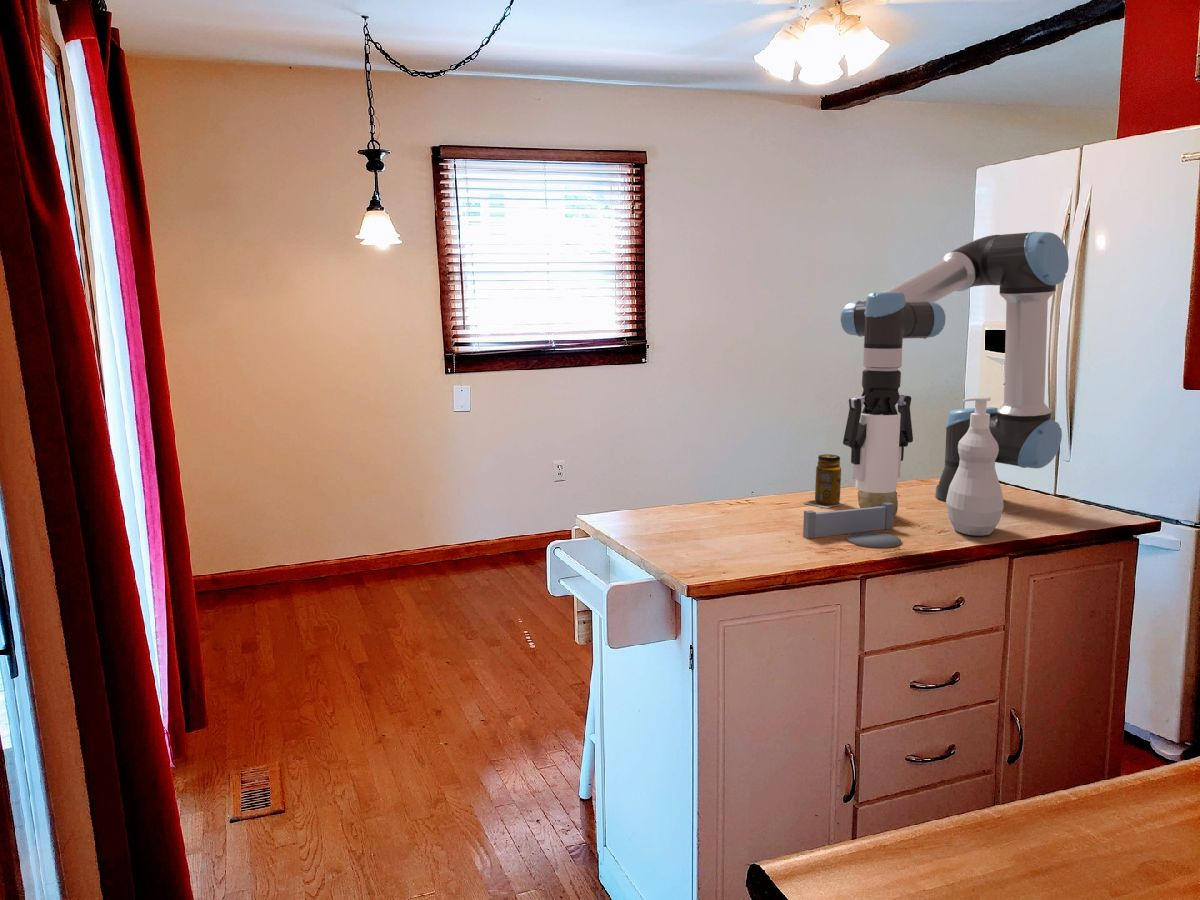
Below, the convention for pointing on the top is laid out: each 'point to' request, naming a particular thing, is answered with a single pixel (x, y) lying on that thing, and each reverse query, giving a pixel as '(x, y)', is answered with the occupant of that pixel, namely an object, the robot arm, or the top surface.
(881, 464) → the cup
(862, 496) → the beige rough lump
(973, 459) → the soap bottle
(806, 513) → the grey barrier wall
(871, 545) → the slate coaster
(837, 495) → the condiment
